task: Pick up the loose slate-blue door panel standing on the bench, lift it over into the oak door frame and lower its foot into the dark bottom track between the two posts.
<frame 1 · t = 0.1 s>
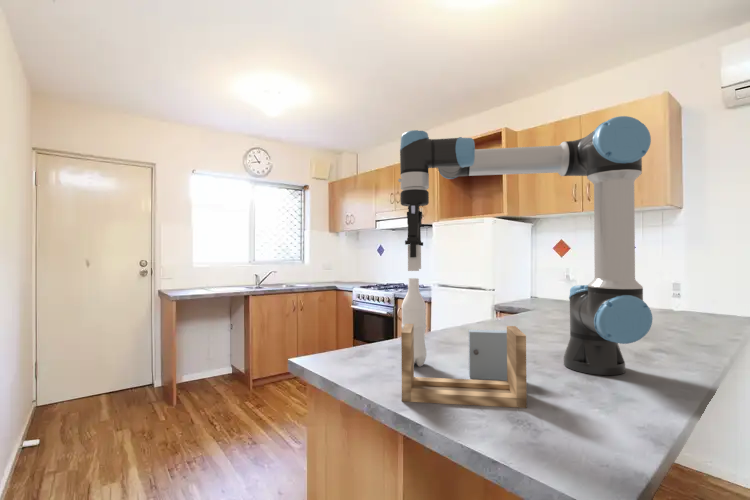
hand: (414, 269, 105), 28 cm above the countertop, fingers open, 13 cm apart
water bottle: (414, 365, 114), on the countertop
door frame: (461, 395, 89), on the countertop
door panel: (489, 377, 102), on the countertop
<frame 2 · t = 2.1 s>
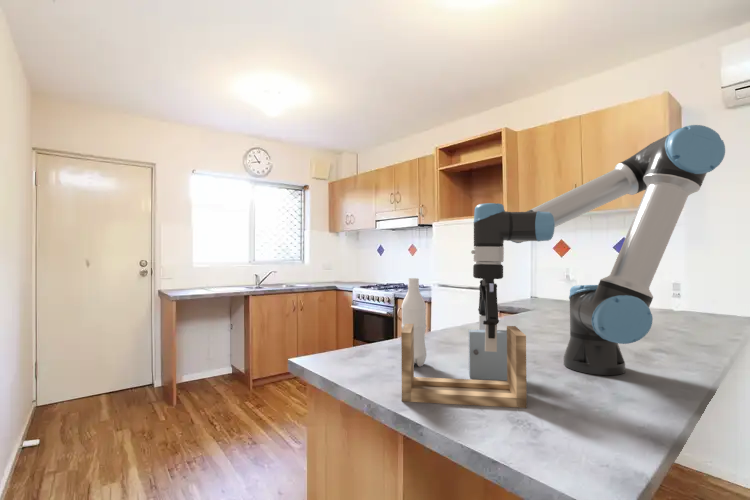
hand: (487, 345, 102), 8 cm above the countertop, fingers open, 13 cm apart
nothing on the countertop moved.
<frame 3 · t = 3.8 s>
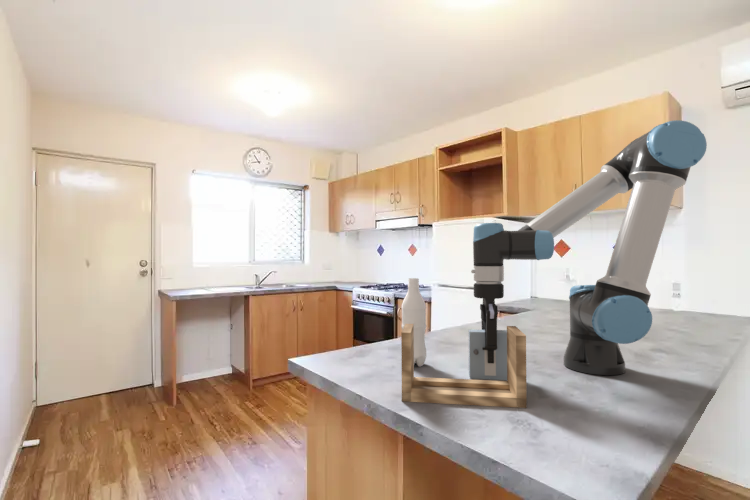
hand: (489, 372, 102), 1 cm above the countertop, fingers closed on door panel, 3 cm apart
door panel: (489, 377, 102), on the countertop, touching gripper
everything else where it was.
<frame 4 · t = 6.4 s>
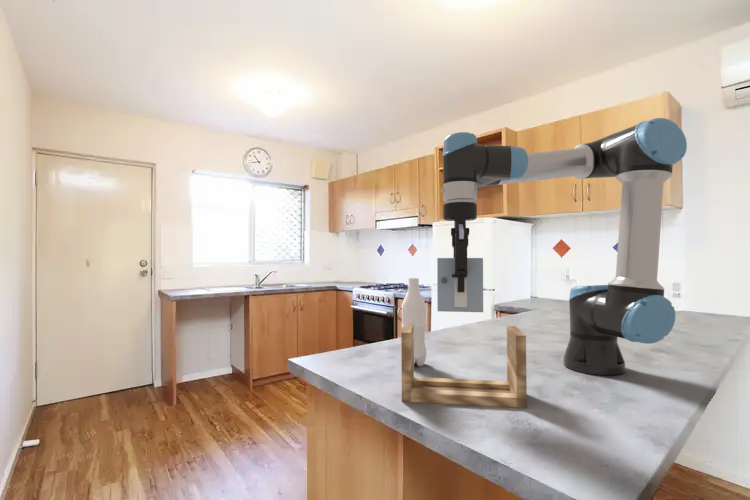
hand: (460, 305, 90), 20 cm above the countertop, fingers closed on door panel, 3 cm apart
door panel: (459, 310, 90), point 19 cm above the countertop, touching gripper
everything else where it was.
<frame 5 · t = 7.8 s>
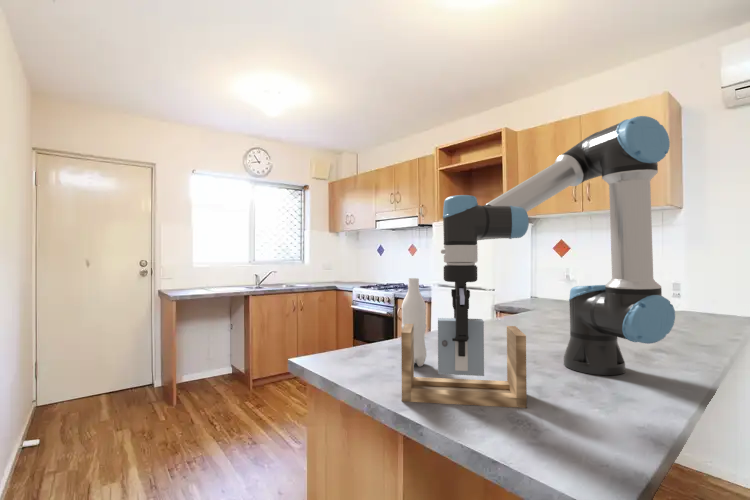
hand: (460, 367, 89), 6 cm above the countertop, fingers closed on door panel, 3 cm apart
door panel: (460, 372, 89), point 5 cm above the countertop, touching gripper
everything else where it was.
when the fingers open (4 cm above the countertop, at t = 8.8 s): door panel drops 1 cm, resting on door frame.
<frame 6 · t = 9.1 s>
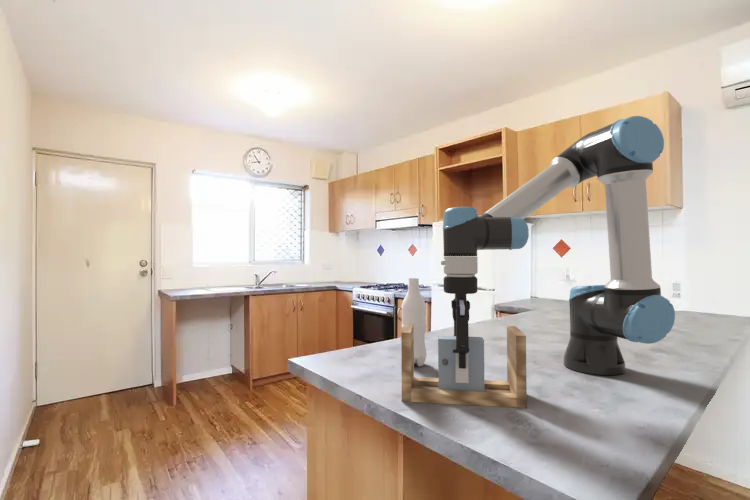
hand: (461, 376, 89), 4 cm above the countertop, fingers open, 7 cm apart
door panel: (460, 390, 89), point 1 cm above the countertop, touching door frame
everything else where it was.
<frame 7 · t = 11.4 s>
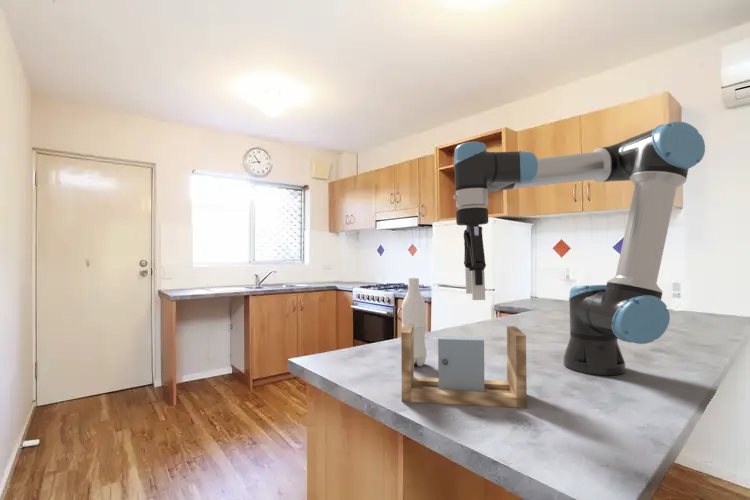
hand: (474, 296, 95), 22 cm above the countertop, fingers open, 13 cm apart
nothing on the countertop moved.
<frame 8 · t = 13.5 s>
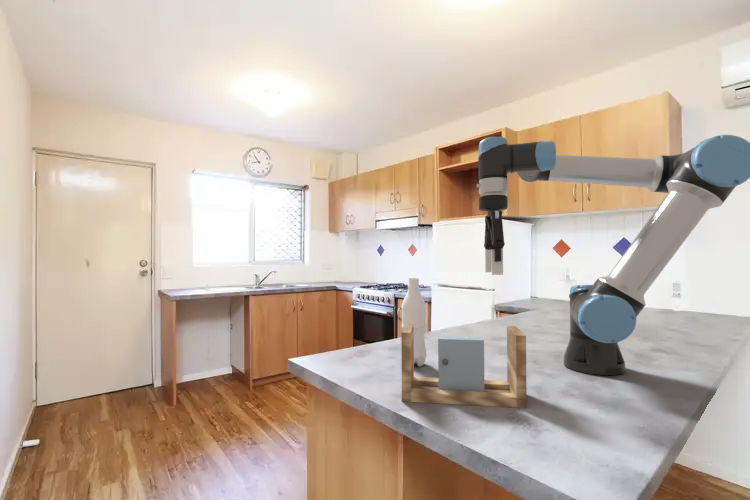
hand: (493, 273, 107), 27 cm above the countertop, fingers open, 13 cm apart
nothing on the countertop moved.
at the end: door panel inside the target area on the door frame (0.1 cm from its centre), point 1.0 cm above the door frame's base; door panel tilted 0°; the gripper is holding nothing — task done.
